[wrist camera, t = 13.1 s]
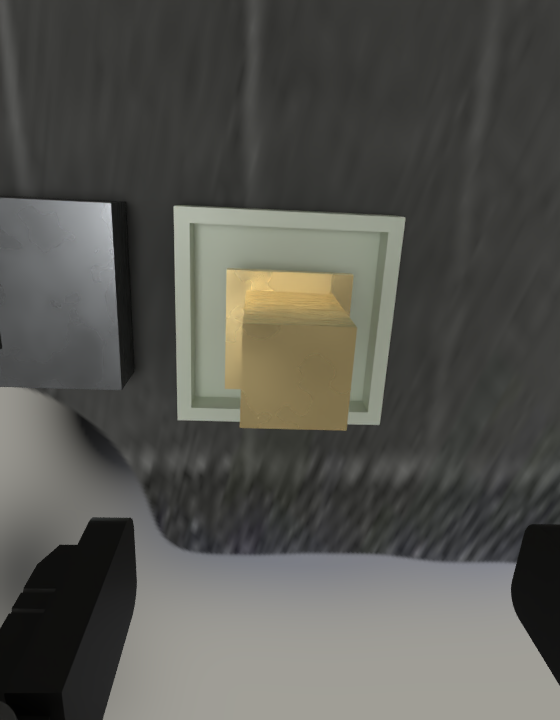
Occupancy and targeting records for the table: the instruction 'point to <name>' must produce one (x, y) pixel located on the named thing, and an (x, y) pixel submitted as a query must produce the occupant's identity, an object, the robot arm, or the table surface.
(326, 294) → the brass plug
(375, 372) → the parts tray
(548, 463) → the table surface
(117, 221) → the grey metal block
